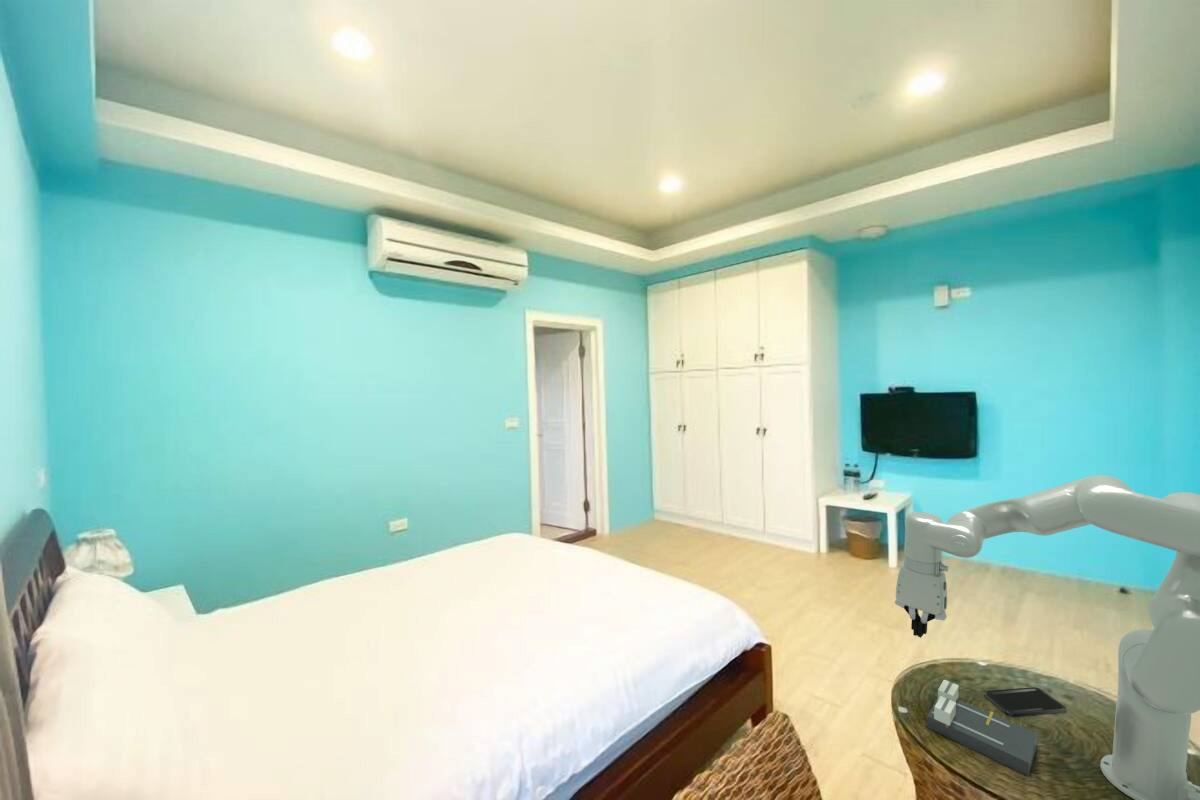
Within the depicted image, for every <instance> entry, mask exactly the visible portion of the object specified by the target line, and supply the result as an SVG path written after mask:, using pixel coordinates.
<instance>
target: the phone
mask: <svg viewBox="0 0 1200 800" xmlns="http://www.w3.org/2000/svg"><path fill="white" fill-rule="evenodd" d="M983 696H984V697H985V698H986V699H987V700H988V701H989V702H990V703H991V704H993V705H994V706H995V707H996V708H998V709H999V710H1000V711H1001V712H1002V713H1004V715H1006V716H1008V717H1011V718H1015V717H1025V716H1026V717H1028V716H1029V717H1030V716H1039V715H1040V716H1041V715H1050V714H1062V713H1066V711H1067V707H1066V706H1065V705H1063V704H1062V703H1061V702H1059V701H1058V700H1057V699H1055V698H1054V697H1052V696H1051V695H1050V694H1048V693H1047V692H1045V690H1043V689H1042V688H1039V687H1035V686H1032V687H1031V686H1030V687H1019V688H1007V689H994V690H985V691H984V693H983Z"/></svg>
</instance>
